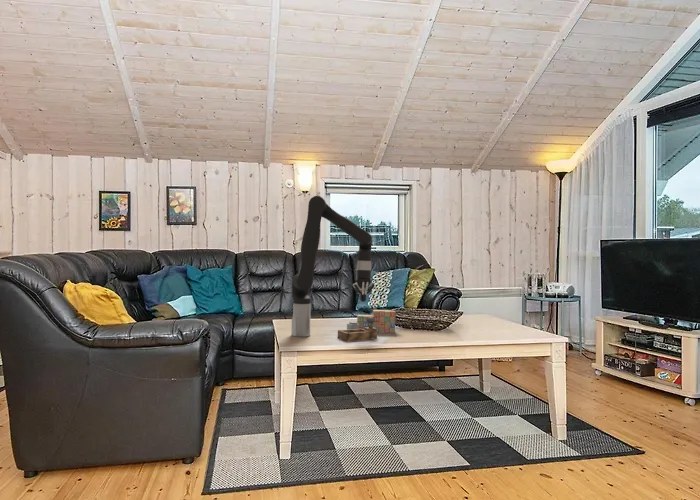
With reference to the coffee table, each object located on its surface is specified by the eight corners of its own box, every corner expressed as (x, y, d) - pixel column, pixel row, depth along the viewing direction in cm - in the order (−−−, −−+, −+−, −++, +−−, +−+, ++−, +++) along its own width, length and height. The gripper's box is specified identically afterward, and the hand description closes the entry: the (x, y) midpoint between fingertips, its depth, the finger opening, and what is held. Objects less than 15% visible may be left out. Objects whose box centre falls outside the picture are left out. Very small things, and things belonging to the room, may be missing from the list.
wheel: (369, 322, 262) (369, 317, 262) (364, 321, 266) (365, 316, 266) (376, 322, 264) (376, 317, 264) (372, 321, 268) (372, 316, 268)
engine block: (351, 335, 269) (351, 323, 269) (346, 334, 274) (347, 321, 274) (359, 335, 271) (359, 322, 271) (354, 333, 276) (355, 321, 276)
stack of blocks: (357, 332, 280) (357, 310, 280) (356, 330, 287) (357, 309, 287) (395, 333, 281) (395, 311, 281) (394, 331, 287) (394, 309, 287)
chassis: (346, 341, 252) (347, 325, 252) (337, 337, 262) (338, 322, 262) (379, 338, 262) (379, 323, 262) (369, 335, 271) (370, 320, 271)
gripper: (356, 269, 261) (355, 302, 261) (378, 269, 267) (377, 302, 267) (349, 268, 268) (348, 301, 268) (371, 269, 274) (370, 300, 274)
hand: (363, 301), depth 267 cm, fingers closed
